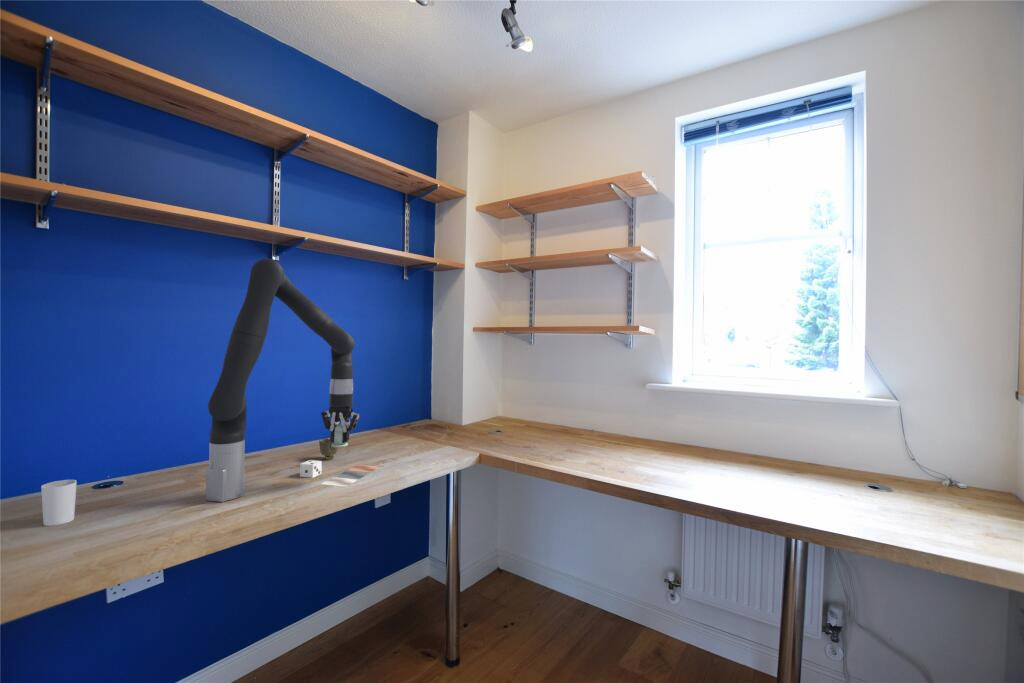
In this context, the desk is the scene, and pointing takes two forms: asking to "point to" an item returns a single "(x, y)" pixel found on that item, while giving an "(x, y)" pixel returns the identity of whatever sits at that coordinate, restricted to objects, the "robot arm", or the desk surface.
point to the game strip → (351, 475)
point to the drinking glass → (58, 502)
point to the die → (310, 468)
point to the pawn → (338, 437)
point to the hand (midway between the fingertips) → (339, 441)
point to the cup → (327, 448)
